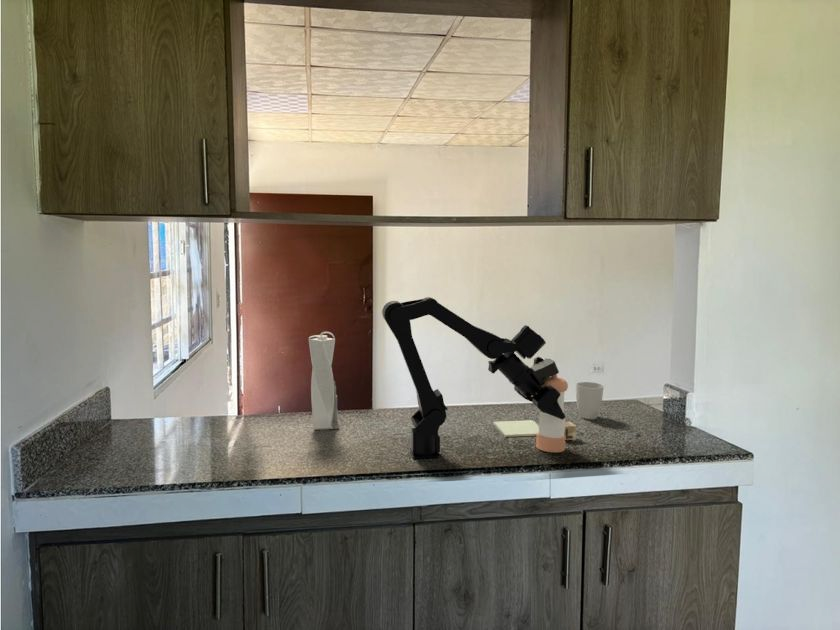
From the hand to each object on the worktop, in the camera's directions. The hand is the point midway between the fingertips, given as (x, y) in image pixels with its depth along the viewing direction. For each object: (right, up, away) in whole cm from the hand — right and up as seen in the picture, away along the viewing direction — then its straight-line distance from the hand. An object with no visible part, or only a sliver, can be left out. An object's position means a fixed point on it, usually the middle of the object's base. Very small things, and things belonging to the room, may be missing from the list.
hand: (557, 413), depth 143 cm
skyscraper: (-62, -7, +17) cm, 65 cm away
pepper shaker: (-1, -9, +1) cm, 9 cm away
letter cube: (+4, -8, +9) cm, 13 cm away
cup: (+17, -6, +29) cm, 34 cm away
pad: (-7, -7, +16) cm, 19 cm away
